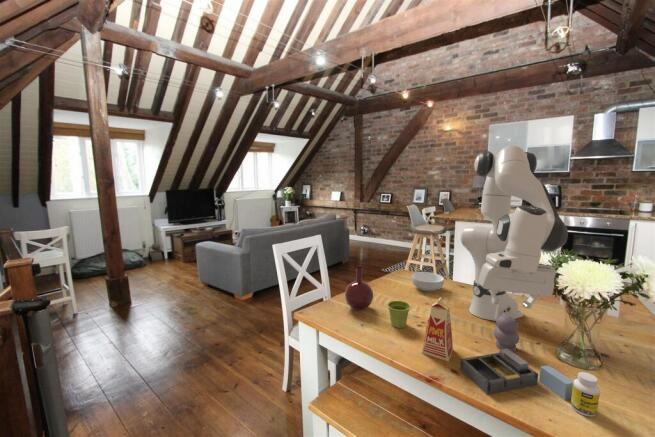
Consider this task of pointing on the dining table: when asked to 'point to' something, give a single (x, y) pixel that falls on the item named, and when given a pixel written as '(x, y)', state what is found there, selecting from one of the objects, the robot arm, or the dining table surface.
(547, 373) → the light blue block
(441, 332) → the milk carton
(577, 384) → the supplement bottle
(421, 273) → the cereal bowl
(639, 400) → the dining table surface
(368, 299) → the round-bottom flask
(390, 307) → the plant pot
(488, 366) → the tray
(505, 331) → the purple lumpy figurine
